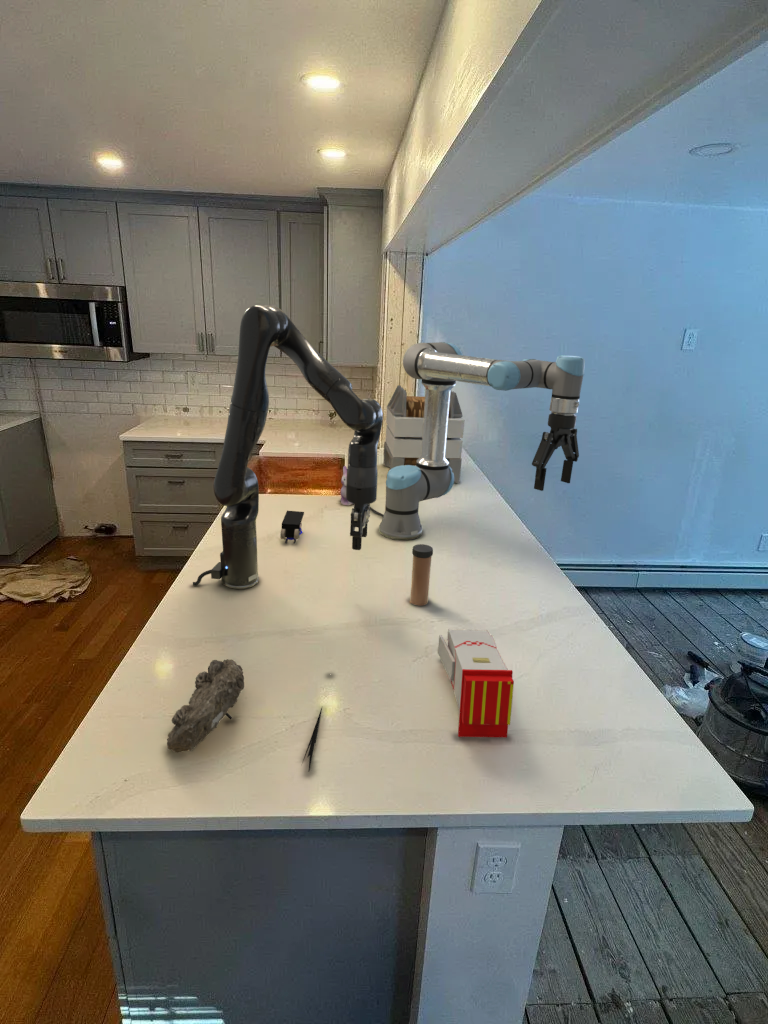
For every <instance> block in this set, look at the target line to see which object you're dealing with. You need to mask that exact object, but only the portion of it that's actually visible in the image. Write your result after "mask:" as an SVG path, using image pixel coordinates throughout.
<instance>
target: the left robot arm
mask: <svg viewBox="0 0 768 1024" xmlns="http://www.w3.org/2000/svg"><path fill="white" fill-rule="evenodd" d="M271 347H274V348H276V349H278V350H279V351H281V352H282V353H284V355H286V356H287V357H288V358H289V359H290V360H291V361H292V362H293V363H294V364H295V365H296V367H297V368H298V369H299V371H300V373H301V374H302V376H303V378H304V379H305V381H306V382H307V383H308V385H309V386H310V387H311V388H312V389H313V390H314V391H315V392H316V393H318V395H320V396H321V397H322V398H323V399H324V400H325V401H326V402H327V403H328V404H330V406H331V407H332V409H333V410H334V411H335V413H336V414H337V416H338V417H339V419H340V420H341V421H342V422H343V423H344V424H345V425H346V427H348V428H350V430H352V431H354V432H353V437H352V439H351V441H350V442H349V443H348V449H347V450H348V451H347V467H346V468H347V481H346V499H347V501H349V502H351V503H353V504H352V505H353V507H352V508H351V513H350V528H349V529H350V530H349V531H350V532H349V536H350V537H352V538H351V539H352V541H351V549H352V550H353V551H361V550H362V544H363V543H362V539H363V538H366V537H367V536H368V523H369V522H370V520H369V519H370V518H371V517H370V516H371V515H370V514H371V510H370V507H371V504H373V503H376V501H377V494H378V493H377V492H378V445H379V441H380V438H381V437H380V436H381V432H382V426H383V419H384V416H383V415H384V414H383V408H382V406H381V404H380V403H379V402H378V401H377V400H376V399H374V398H370V397H369V398H368V397H367V398H362V399H361V398H360V397H359V396H357V394H356V393H355V392H354V391H353V384H352V383H351V381H350V380H349V379H348V378H347V377H345V376H344V375H343V374H342V372H340V371H339V370H338V369H337V368H336V367H334V366H333V365H332V364H331V363H330V362H329V361H328V360H327V359H326V358H325V357H324V356H323V355H322V354H321V353H319V351H318V350H317V349H316V348H315V347H314V346H313V345H312V344H311V342H309V340H308V339H306V337H305V336H304V335H303V333H302V332H301V331H300V330H299V328H298V327H297V326H296V324H295V323H294V322H293V321H292V320H291V318H290V317H289V316H288V315H287V314H286V313H285V311H283V310H282V309H281V308H279V307H277V306H274V305H264V304H256V305H255V304H254V305H252V306H250V307H248V308H247V309H246V310H245V311H244V313H243V315H242V317H241V320H240V326H239V337H238V351H237V353H238V355H237V363H236V370H235V375H234V383H233V389H232V394H231V398H230V403H229V410H228V414H227V424H226V430H225V434H224V440H223V446H222V451H221V455H220V459H219V461H218V462H219V463H218V466H217V469H216V473H215V475H214V480H213V494H214V496H215V499H216V500H217V502H218V503H220V504H221V505H222V506H224V507H226V508H225V509H224V512H223V513H222V515H221V517H220V528H221V541H222V542H221V543H222V551H221V552H220V554H219V558H220V559H219V560H220V561H218V562H217V563H216V564H215V565H214V566H213V567H212V568H211V569H209V570H206V571H203V572H202V573H200V574H199V575H198V577H197V580H196V581H192V586H195V587H196V586H199V585H200V584H201V582H202V579H203V578H204V577H205V576H208V575H211V576H210V579H213V580H221V585H222V586H226V587H227V588H229V589H234V590H243V589H250V588H252V587H254V586H256V585H257V584H258V583H259V568H258V566H259V565H258V540H257V539H258V537H257V536H258V535H257V518H258V516H259V515H258V514H259V510H260V509H259V508H260V507H259V506H260V505H259V503H260V502H259V501H260V500H259V499H260V487H259V481H258V477H257V475H256V473H255V472H254V471H253V470H252V469H251V468H250V467H249V466H248V464H249V460H250V457H251V456H252V454H253V451H254V449H255V448H256V446H257V444H258V442H259V440H260V438H261V437H262V434H263V432H264V429H265V426H266V422H267V417H268V412H269V406H270V393H269V388H268V384H267V378H266V368H267V362H268V357H269V352H270V349H271ZM356 528H358V530H356Z"/></svg>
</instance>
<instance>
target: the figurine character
mask: <svg viewBox="0 0 768 1024" xmlns="http://www.w3.org/2000/svg"><path fill="white" fill-rule="evenodd" d="M304 515H305V511H296V510H286V512H285V515H284V518H283V519H282V521H281V529H280V535H279V537H280V540H284V544H288V541H293V544H294V545H295V544H296V543H297V540H299V539H300V536H301V535H302V534H304V533H303V530H302V528H303V527H302V526H303V524H302V521H303V517H304Z"/></svg>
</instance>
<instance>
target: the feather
mask: <svg viewBox="0 0 768 1024" xmlns="http://www.w3.org/2000/svg"><path fill="white" fill-rule="evenodd" d="M329 675H330V676H331V675H332V674H331V673H330V674H329ZM322 710H323V707H321V708H320V710H319V713H318V716H317V719H316V723H315V725H314V728H313V731H312V733H311V737H310V739H309V742H308V745H307V748H306V751H305V754H304V757H303V760H302V763H301V767H302V765H303V763H304V761H305V758H308V759H309V760H308V762H307V763H308V764H307V766H308V771H310V770H311V766H312V765H311V764H312V760H313V757H315V756H314V755H315V751H316V749H315V746H317V739H318V733H319V729H320V722H321V717H322V712H323V711H322ZM313 754H314V755H313ZM306 755H307V757H306Z"/></svg>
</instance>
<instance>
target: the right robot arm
mask: <svg viewBox="0 0 768 1024" xmlns="http://www.w3.org/2000/svg"><path fill="white" fill-rule="evenodd" d="M585 365H586V360H585V358H584V357H582V356H578V355H566V354H565V355H564V354H563V355H558V356H557V357H556V360H555V361H549V360H541V359H536V358H524V359H521V360H506V359H505V360H504V359H503V360H502V359H496V358H487V357H479V356H471V355H464V354H463V352H462V350H461V349H460V347H459V346H457V345H456V344H455V343H451V342H445V341H443V342H442V341H441V342H440V341H439V342H438V341H437V342H417V343H414V344H412V345H411V346H409V347H408V348H407V350H406V351H405V353H404V355H403V358H402V366H403V369H404V372H405V373H406V374H407V375H408V376H409V377H411V378H412V379H415V380H421V385H422V386H423V387H424V389H425V392H424V397H425V404H424V419H423V434H422V449H421V457H420V458H418V459H417V461H416V466H413V465H401V466H396V467H394V468H392V469H390V468H389V470H388V472H387V474H386V479H385V504H384V505H385V507H384V508H385V509H384V513H381V512H379V511H378V510H375V509H374V508H373V507H371V506H370V512H372V513H374V514H376V515H378V516H380V517H382V519H381V522H379V525H378V533H379V534H380V535H381V536H382V537H385V538H387V539H389V540H395V541H410V540H415V539H418V538H420V537H421V536H422V535H423V525H422V524H421V518H420V515H419V507H420V506H419V505H420V502H423V501H427V500H431V499H437V498H440V497H443V496H446V495H448V493H450V492H451V490H452V489H453V488H454V487H453V486H454V484H455V483H454V473H452V469H451V467H450V466H449V462H448V461H447V459H446V458H445V453H446V441H447V428H448V416H449V404H450V392H451V391H452V389H453V388H454V387H455V386H456V384H457V382H461V383H465V384H473V385H479V386H487V387H491V388H492V389H494V390H496V391H503V392H504V391H511V390H520V389H532V388H533V389H534V388H539V389H546V390H551V398H550V404H549V413H548V418H547V419H548V420H547V426H548V427H549V428H550V431H549V432H548V431H543V432H542V435H541V440H540V442H539V445H538V447H537V449H536V452H535V454H534V457H533V460H532V461H531V466H533V467H535V475H534V477H535V478H534V485H533V489H534V490H537V491H539V492H543V491H544V489H545V484H546V483H545V482H546V476H547V468H546V466H547V465H548V463H549V461H550V459H551V457H552V456H553V454H554V453H555V451H556V450H557V449H558V448H560V447H561V449H562V452H563V455H564V458H565V459H563V463H562V468H561V469H562V470H561V475H560V482H562V483H566V484H571V478H572V472H573V466H574V463H576V462H578V461H579V457H580V453H579V444H578V428H576V423H577V419H578V416H577V414H578V412H579V411H578V410H579V406H580V397H581V391H582V385H583V380H584V376H585Z"/></svg>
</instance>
